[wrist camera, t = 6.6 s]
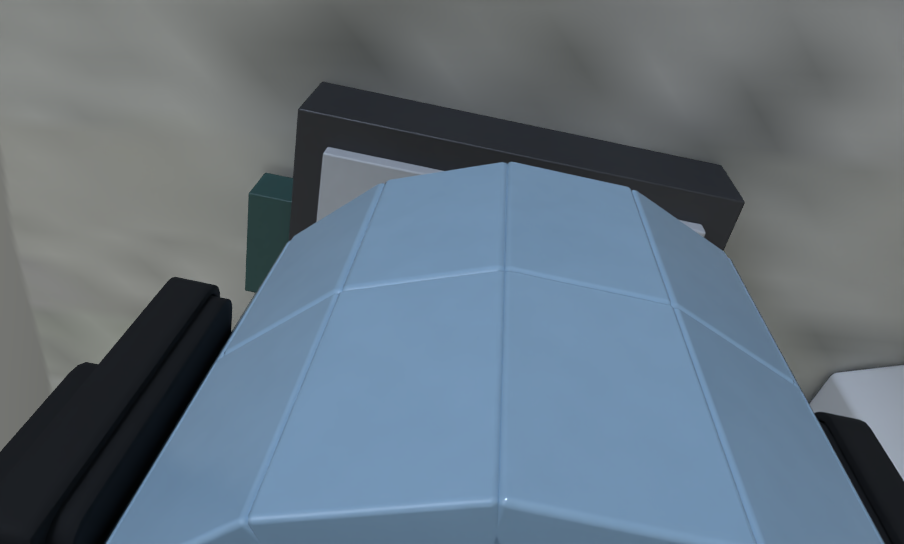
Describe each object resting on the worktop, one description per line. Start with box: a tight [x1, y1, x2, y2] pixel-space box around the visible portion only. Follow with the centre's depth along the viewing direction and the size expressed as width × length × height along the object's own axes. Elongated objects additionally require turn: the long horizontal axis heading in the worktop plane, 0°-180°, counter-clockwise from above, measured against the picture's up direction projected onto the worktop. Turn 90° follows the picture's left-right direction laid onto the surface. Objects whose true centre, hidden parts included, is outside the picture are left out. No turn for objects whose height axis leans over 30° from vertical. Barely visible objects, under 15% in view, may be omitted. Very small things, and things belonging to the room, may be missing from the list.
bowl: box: [103, 162, 885, 544], centre depth 8 cm, size 7×7×6 cm
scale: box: [245, 82, 745, 292], centre depth 26 cm, size 14×16×4 cm
